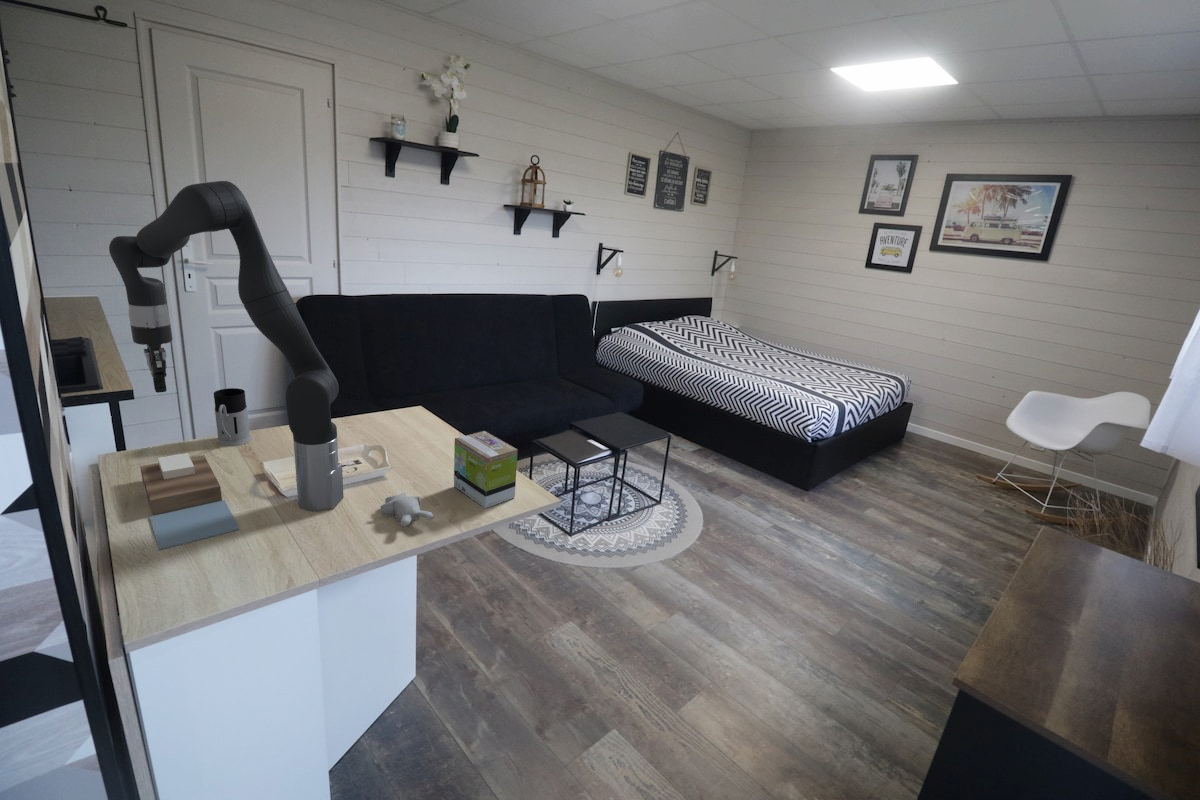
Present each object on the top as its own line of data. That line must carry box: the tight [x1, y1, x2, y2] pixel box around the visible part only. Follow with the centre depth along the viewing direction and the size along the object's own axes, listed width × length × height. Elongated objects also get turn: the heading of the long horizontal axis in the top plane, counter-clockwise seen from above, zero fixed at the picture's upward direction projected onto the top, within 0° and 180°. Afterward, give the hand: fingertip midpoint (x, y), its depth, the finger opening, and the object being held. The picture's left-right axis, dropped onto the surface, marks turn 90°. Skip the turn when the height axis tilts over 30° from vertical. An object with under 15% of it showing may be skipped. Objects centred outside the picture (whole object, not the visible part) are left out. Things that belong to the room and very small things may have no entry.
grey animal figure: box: [379, 492, 434, 528], centre depth 132 cm, size 10×5×15 cm
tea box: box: [453, 430, 519, 509], centre depth 147 cm, size 15×10×15 cm, turn 47°
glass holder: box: [213, 387, 253, 447], centre depth 158 cm, size 9×14×15 cm, turn 18°
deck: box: [140, 455, 223, 516], centre depth 134 cm, size 20×13×4 cm, turn 43°
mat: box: [149, 499, 240, 551], centre depth 122 cm, size 15×14×1 cm
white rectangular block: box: [157, 452, 195, 479], centre depth 136 cm, size 9×6×2 cm, turn 43°
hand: (160, 391), depth 138 cm, fingers closed
